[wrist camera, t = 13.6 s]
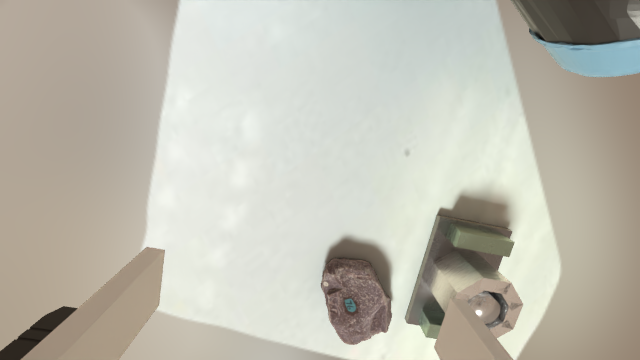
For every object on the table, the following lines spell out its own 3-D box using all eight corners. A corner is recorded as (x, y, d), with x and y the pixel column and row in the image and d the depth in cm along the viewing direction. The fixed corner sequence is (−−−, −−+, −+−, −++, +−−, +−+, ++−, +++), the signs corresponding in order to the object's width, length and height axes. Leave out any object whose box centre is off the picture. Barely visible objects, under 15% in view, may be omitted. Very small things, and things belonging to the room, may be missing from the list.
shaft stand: (437, 214, 42) (466, 239, 35) (507, 228, 43) (551, 255, 35) (404, 318, 46) (424, 362, 38) (470, 329, 47) (503, 374, 39)
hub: (438, 246, 42) (463, 274, 36) (495, 257, 43) (530, 286, 36) (421, 299, 44) (442, 335, 37) (476, 308, 45) (506, 345, 38)
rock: (365, 242, 43) (371, 258, 39) (395, 309, 46) (404, 332, 41) (310, 266, 44) (310, 284, 39) (343, 330, 46) (346, 355, 42)
